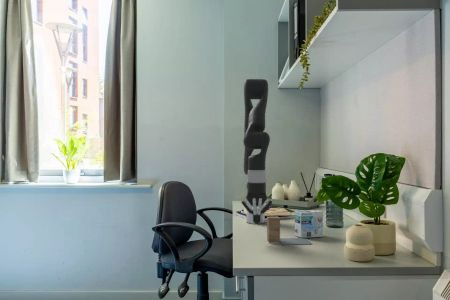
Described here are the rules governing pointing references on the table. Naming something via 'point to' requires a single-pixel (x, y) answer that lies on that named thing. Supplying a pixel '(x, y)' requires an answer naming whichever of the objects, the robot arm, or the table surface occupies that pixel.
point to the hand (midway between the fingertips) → (256, 223)
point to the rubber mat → (295, 241)
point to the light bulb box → (309, 223)
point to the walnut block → (273, 230)
